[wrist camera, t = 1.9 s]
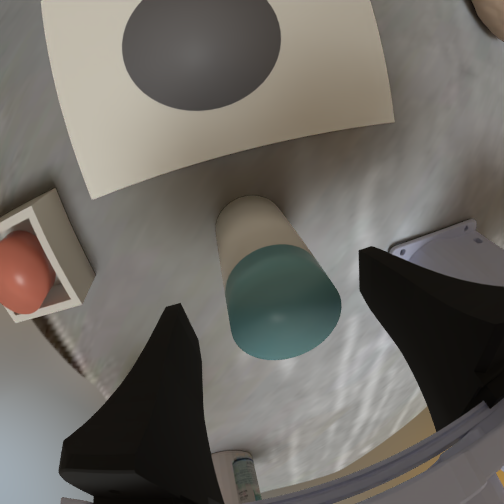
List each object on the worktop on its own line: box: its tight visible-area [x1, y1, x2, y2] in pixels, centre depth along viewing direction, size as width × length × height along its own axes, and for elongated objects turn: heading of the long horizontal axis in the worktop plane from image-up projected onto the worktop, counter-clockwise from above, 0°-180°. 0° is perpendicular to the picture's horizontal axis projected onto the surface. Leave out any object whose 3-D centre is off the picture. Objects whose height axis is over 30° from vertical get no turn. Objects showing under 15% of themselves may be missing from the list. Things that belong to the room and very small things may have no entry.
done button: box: [0, 230, 56, 314], centre depth 13 cm, size 4×4×2 cm
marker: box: [215, 196, 341, 360], centre depth 14 cm, size 4×4×8 cm
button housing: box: [0, 188, 96, 323], centre depth 14 cm, size 6×6×3 cm
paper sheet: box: [41, 0, 395, 200], centre depth 12 cm, size 18×13×1 cm
